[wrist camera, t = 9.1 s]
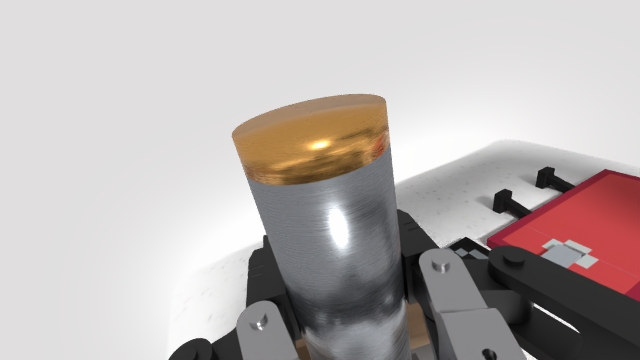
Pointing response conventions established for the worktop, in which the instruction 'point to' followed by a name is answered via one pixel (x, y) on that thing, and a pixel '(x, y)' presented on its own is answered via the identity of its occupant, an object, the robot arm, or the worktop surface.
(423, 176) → the worktop surface
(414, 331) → the socket box
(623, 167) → the worktop surface
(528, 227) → the red board with handle
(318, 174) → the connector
